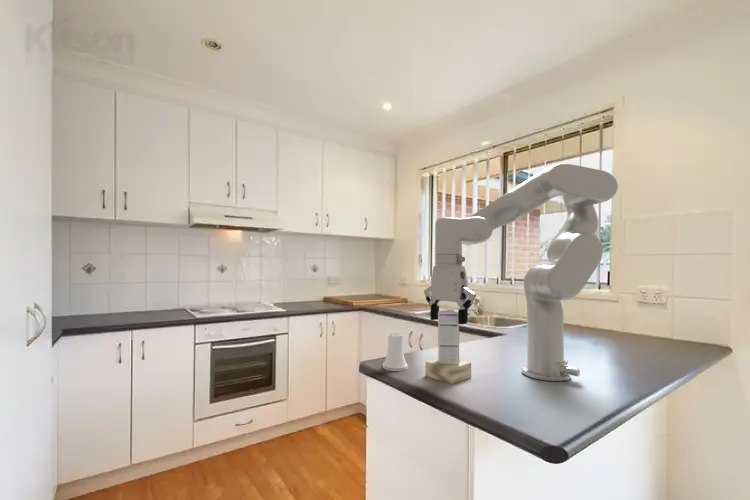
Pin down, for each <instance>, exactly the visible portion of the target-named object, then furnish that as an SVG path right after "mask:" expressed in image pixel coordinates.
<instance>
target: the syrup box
mask: <svg viewBox="0 0 750 500" xmlns="http://www.w3.org/2000/svg"><path fill="white" fill-rule="evenodd" d="M458 310H459V309H450V308H446V309H445V308H444V309H439V311H438V320H437V337H438V339H437V340H438V341H437V342H438V344H437V346H438V347H437V349H438V358H439V364H448V365H459V360H460V324H459V323H458Z"/></svg>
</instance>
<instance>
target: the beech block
mask: <svg viewBox="0 0 750 500" xmlns="http://www.w3.org/2000/svg"><path fill="white" fill-rule="evenodd" d="M424 365H425V372H424V373H425V377H428V378H431V379H434V380H437V381H441V382H445V383H448V384H450V385H453V384H455V383H458V382H462V381H464V380H467V379H470V378H472V362H469V361H465V360H461V359H459V365H448V364H439V357H438V358H434V359H430V360H426V361H425V364H424Z"/></svg>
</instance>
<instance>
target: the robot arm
mask: <svg viewBox="0 0 750 500" xmlns="http://www.w3.org/2000/svg"><path fill="white" fill-rule="evenodd" d="M618 186H619V185H618V181H617V179H616V178H615V177H614V176H613V175H612V174H611V173H610V172H608V171H605V170H602V169H598V168H591V167H587V166H581V165H579V164H572V163H571V164H570V163H557V164H553V165H552V166H549V167H546V168H545V169H542V170H541V171H539V172H537V173H536V174H534V175H533V176H531V177H530V178H527V179H526V180H525V181H523V182H522V183H520V184H518V185H517V186H515V187H514V188H512V189H511V190H508V191H507V192H506V193H505V194H503V195H501V196H500V197H497V199H495V200H494V201H491V203H489V204H488V205H486V206H484V207H483V208H481V209H480V210H478V211H477V212H475V213H472V215H470V216H468V217H461V218H459V217H454V216H453V217H451V216H450V217H440V218H438V219H436V221H435V223H434V224H435V226H434V227H435V229H434V235H435V237H434V238H435V239H434V241H435V242H434V244H435V245H434V256H435V257H434V265H433V269H432V273H431V283H430V286H429V287H427V288H426V289H424V290H423V294H424V297H425V300H426V302H427V303H428V306H429V308H430V311H429V312H430V314H429V315H430V321H436V320H437V321H438V311H439V310H440V305H439V303H440V302H441V301H442V302H449V303H450V302H451V303H456V304H457V305H458V307H459V309H457V310H458V323H459V325H466V324H468V320H469V319H468V317H469V316H468V313H469V311H468V310H470V308H471V306H472V305H473V304H474V301H475V299H476V297H477V294H476V293H475V292H474V291H472V290H470V289H469V287H468V286H469V285H468V276H467V271H466V266H463V263H464V262H465V261H466V257H465V256H463V245H464V246H472V245H477V244H482V243H485V242H487V240H489V239H490V238H491V236H492V234H493V231H494V230H496V229H498V228H501V227H502V226H505V225H508V224H511V223H514V222H516V221H518V220H520V219H523V218H524V217H525V216H527V215H528V214H530V213H531V212H533V211H535V210H536V209H538V208H539V207H540V206H542V205H544V204H546V203H547V202H549V201H551V199H553V198H556V197H558V196H561V195H562V200H563V203H564V205H565V208H566V210H567V214H566V215H567V216H566V219H565V221H564V223H563V225H562V226H561V228H560V229H559V231H558V232H557V234H556V235H555V237H554V238H553V240H552V241H551V243H550V244H549V245H548V248H547V251H546V257H547V260H548V261H549V262H550V263H551V264H539V265H535V266H533V267H531V268H530V269H529V270H527V272H526V273H525V275H524V278H523V289H524V294H525V295H524V296H525V300H526V313H527V314H526V327H527V328H526V332H527V333H526V334H527V336H526V341H527V342H526V345H527V353H526V354H527V355H526V357H527V361H526V362H527V365H525V366H522V368H521V372H522V374H523V375H525V376H526V377H529V378H533V379H536V380H541V381H546V382H547V381H549V382H564V381H568V380H570V379H571V376H573V377H579V376H580V372H581V371H580V369H579V368H578V367H576V366H570V365H569V364H568V362H569V361H568V360H565V357H564V356H565V353H564V351H565V350H564V346H565V345H564V344H565V343H564V340H565V339H564V309H563V305H562V302H561V301H569V300H572V299H574V298H576V297H577V295H579V294H580V293H581V292H582V290H583V289H584V287H585V286H586V284H587V282H589V280H590V278H591V276H592V275H593V274H594V272H595V271H596V269H597V268H598V266H599V264H600V262H601V260H602V257H603V253H604V249H603V245H602V242H601V240H600V239H599V238H598V237H597V236H596V235H595V234H596V232H597V230H598V227H599V219H598V215H597V214H598V213H597V212H596V209H595V206H594V205H597V204H601V203H605V202H608V201H610V200H611V199H612V198H614V197H615V196H616V194H617V192H618V188H619V187H618Z"/></svg>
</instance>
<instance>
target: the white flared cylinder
mask: <svg viewBox="0 0 750 500" xmlns="http://www.w3.org/2000/svg"><path fill="white" fill-rule="evenodd" d="M387 340H388V341H387V342H388V343H387V344H388V346H387V353H386V357H385V360H384V362H382V365H383V366H382V369H384V370H385V371H386V370H387V371H392V372H402V371H406V370H408V368H409V366H408V365H409V364H408V363H407V361H406V358H405V356H404V349H403V347H404V346H403V345H404V344H403V343H404V334H403V333H399V332H398V333H397V332H392V333H387Z"/></svg>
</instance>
